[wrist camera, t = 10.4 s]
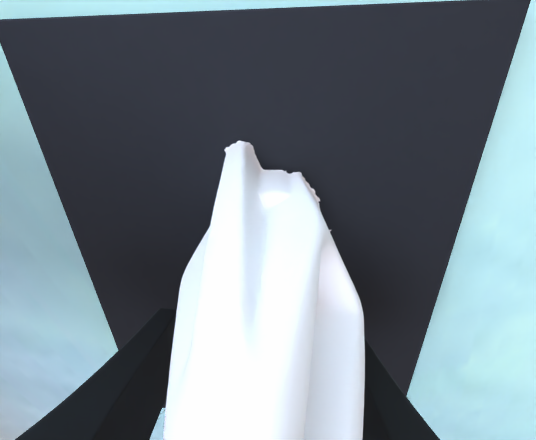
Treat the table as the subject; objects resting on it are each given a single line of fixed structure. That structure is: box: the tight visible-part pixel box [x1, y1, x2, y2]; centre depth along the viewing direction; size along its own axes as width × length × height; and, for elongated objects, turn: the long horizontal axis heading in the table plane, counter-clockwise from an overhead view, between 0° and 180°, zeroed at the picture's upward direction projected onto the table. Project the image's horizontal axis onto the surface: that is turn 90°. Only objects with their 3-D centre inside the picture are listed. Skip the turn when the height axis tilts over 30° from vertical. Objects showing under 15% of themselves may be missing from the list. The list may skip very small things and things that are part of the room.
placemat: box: [0, 0, 531, 408], centre depth 13 cm, size 16×20×1 cm
